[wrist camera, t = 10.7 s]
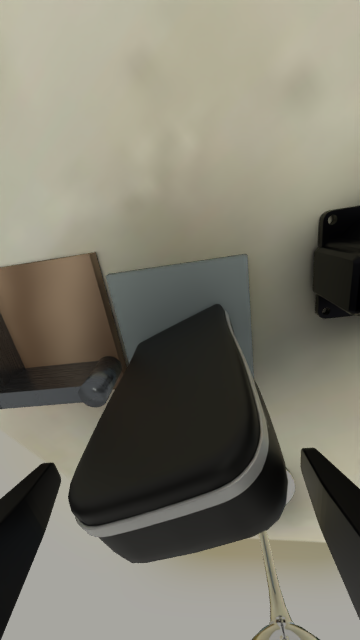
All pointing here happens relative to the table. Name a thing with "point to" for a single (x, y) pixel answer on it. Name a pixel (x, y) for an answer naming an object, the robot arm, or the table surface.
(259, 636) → the wineglass
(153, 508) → the battery charger
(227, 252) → the table surface
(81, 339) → the rail board
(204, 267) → the end mat
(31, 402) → the bent rail
